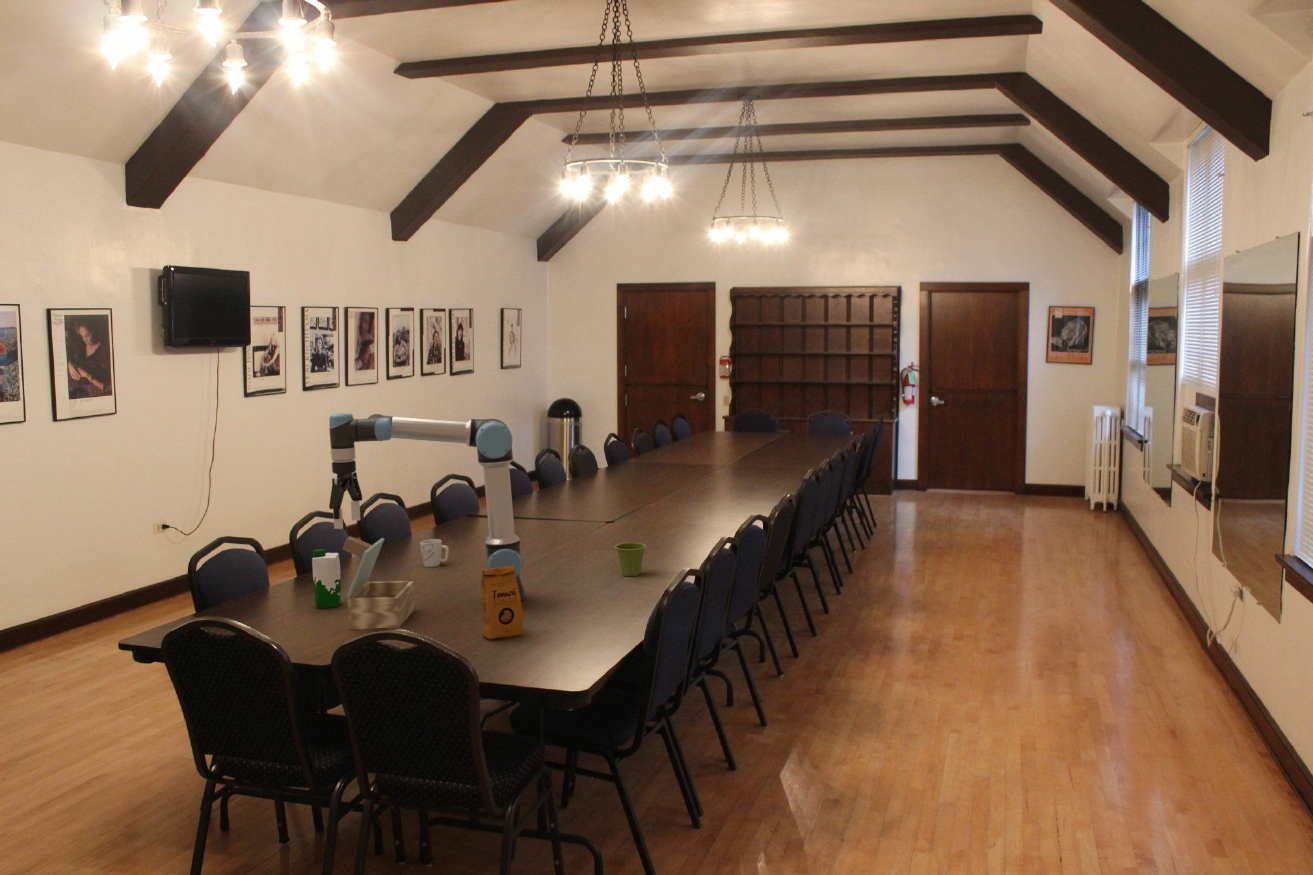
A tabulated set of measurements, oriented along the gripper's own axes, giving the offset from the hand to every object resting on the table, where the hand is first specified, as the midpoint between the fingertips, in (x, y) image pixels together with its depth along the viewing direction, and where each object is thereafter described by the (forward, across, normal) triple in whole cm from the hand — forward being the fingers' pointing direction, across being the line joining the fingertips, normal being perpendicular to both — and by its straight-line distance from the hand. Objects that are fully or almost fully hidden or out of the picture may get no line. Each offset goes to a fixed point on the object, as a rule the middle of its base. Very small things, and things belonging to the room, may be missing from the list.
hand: (347, 524), depth 345 cm
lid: (+15, -1, +6) cm, 16 cm away
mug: (+33, -77, +1) cm, 83 cm away
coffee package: (+33, +14, +55) cm, 66 cm away
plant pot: (+33, -66, +83) cm, 111 cm away
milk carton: (+32, -16, -16) cm, 40 cm away
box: (+32, -1, +10) cm, 34 cm away
